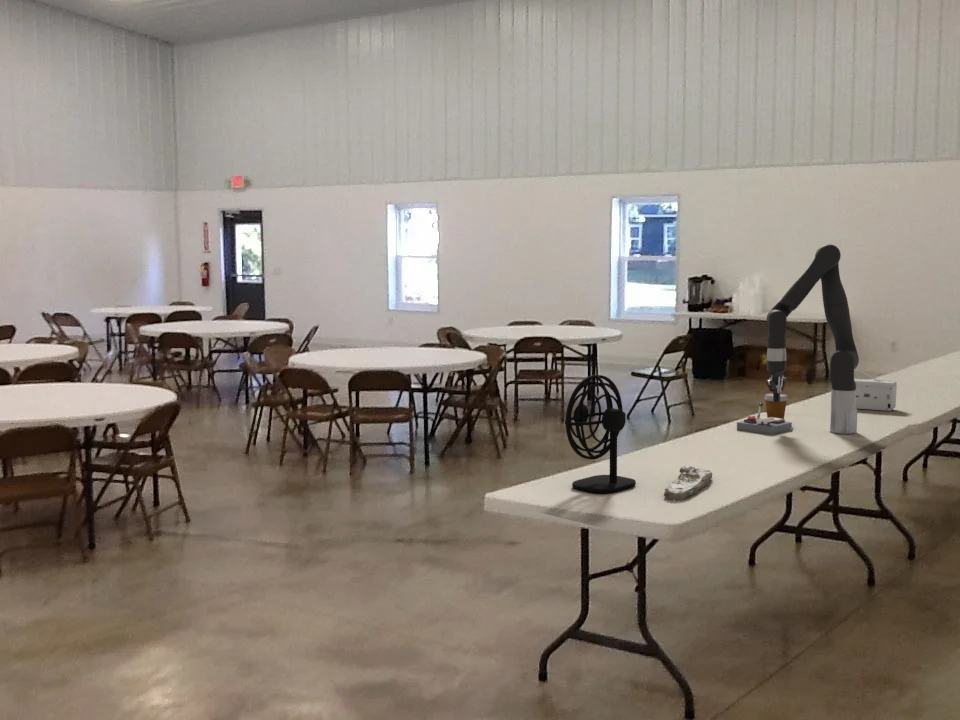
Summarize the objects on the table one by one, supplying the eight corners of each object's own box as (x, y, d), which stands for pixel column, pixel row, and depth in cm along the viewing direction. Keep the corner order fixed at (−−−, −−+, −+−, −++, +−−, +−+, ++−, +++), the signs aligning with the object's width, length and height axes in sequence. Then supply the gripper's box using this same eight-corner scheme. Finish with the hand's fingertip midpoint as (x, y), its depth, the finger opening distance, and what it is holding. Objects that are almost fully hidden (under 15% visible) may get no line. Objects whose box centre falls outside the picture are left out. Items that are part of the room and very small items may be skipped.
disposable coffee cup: (789, 424, 426) (790, 396, 424) (767, 425, 426) (767, 396, 424) (783, 421, 435) (784, 393, 434) (761, 421, 435) (761, 393, 434)
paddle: (782, 421, 415) (782, 418, 415) (777, 422, 412) (777, 419, 412) (773, 420, 418) (773, 417, 418) (768, 421, 415) (768, 418, 415)
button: (756, 418, 416) (756, 416, 415) (752, 419, 413) (752, 416, 413) (750, 418, 418) (750, 415, 418) (746, 419, 416) (746, 416, 416)
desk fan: (607, 474, 337) (607, 369, 333) (650, 483, 324) (651, 374, 320) (552, 488, 318) (552, 377, 314) (596, 498, 306) (596, 382, 302)
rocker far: (774, 420, 409) (773, 416, 409) (769, 421, 406) (769, 418, 406) (761, 422, 413) (761, 418, 413) (756, 423, 411) (756, 419, 411)
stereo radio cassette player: (896, 409, 462) (897, 365, 460) (892, 412, 455) (894, 367, 453) (848, 406, 473) (849, 363, 471) (844, 408, 466) (845, 365, 464)
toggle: (760, 419, 423) (764, 403, 423) (758, 418, 422) (762, 402, 422) (757, 418, 424) (760, 403, 425) (755, 418, 423) (758, 402, 424)
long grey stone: (655, 504, 305) (688, 509, 301) (656, 487, 304) (689, 492, 300) (688, 474, 336) (718, 478, 331) (688, 458, 335) (719, 462, 330)
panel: (791, 429, 414) (791, 419, 414) (771, 434, 404) (771, 423, 404) (756, 424, 426) (757, 414, 426) (736, 429, 416) (736, 418, 415)
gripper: (776, 361, 404) (776, 404, 406) (793, 358, 414) (793, 400, 415) (759, 360, 410) (759, 403, 412) (776, 357, 419) (776, 399, 421)
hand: (776, 401), depth 413 cm, fingers closed
